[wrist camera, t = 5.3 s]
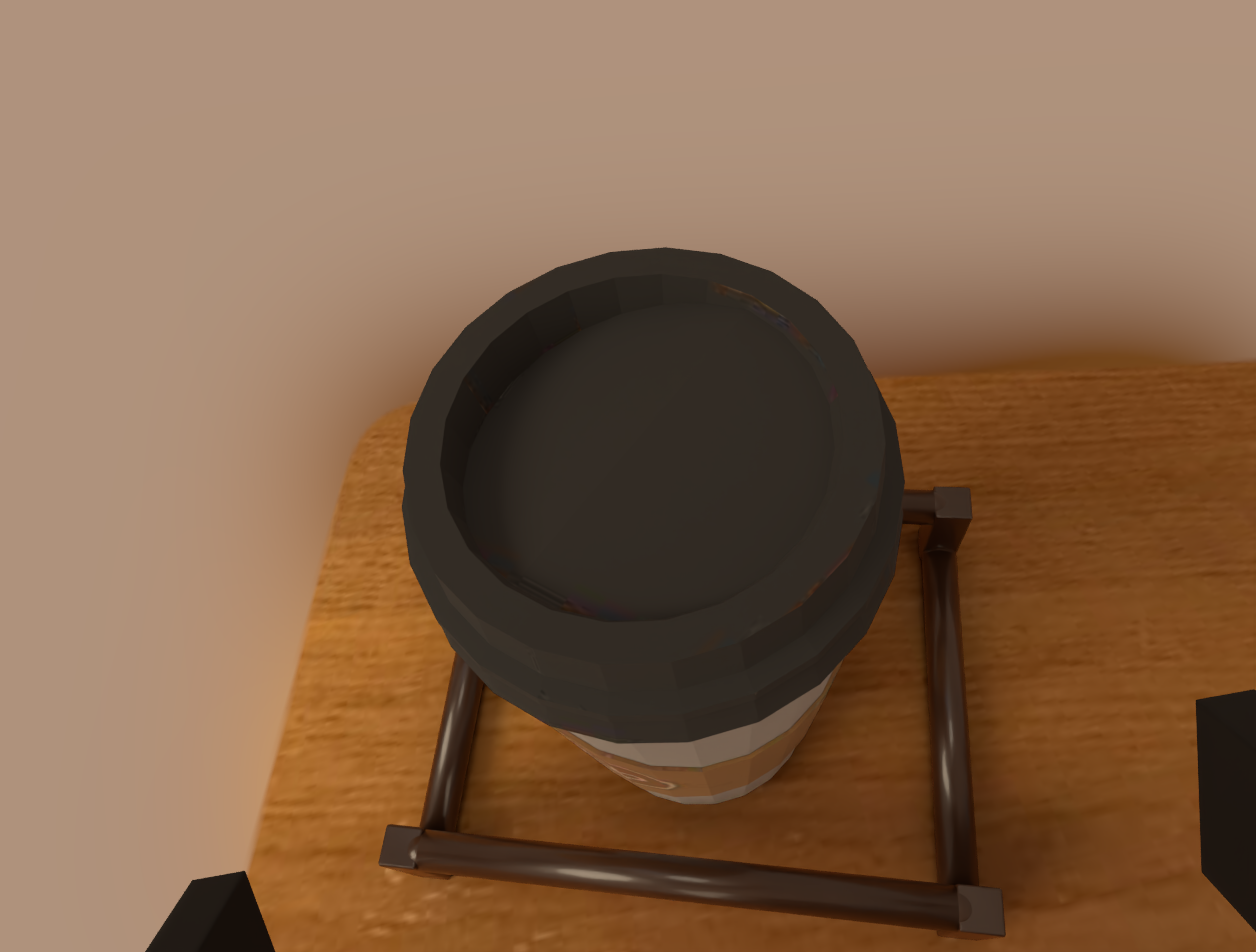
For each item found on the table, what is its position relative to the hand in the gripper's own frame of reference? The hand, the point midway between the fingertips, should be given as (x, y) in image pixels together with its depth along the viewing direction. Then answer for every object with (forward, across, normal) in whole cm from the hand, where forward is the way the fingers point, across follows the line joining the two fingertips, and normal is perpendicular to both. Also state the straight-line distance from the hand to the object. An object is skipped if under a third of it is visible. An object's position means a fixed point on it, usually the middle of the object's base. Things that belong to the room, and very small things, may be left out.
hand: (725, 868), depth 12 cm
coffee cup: (+14, 0, -5) cm, 14 cm away
